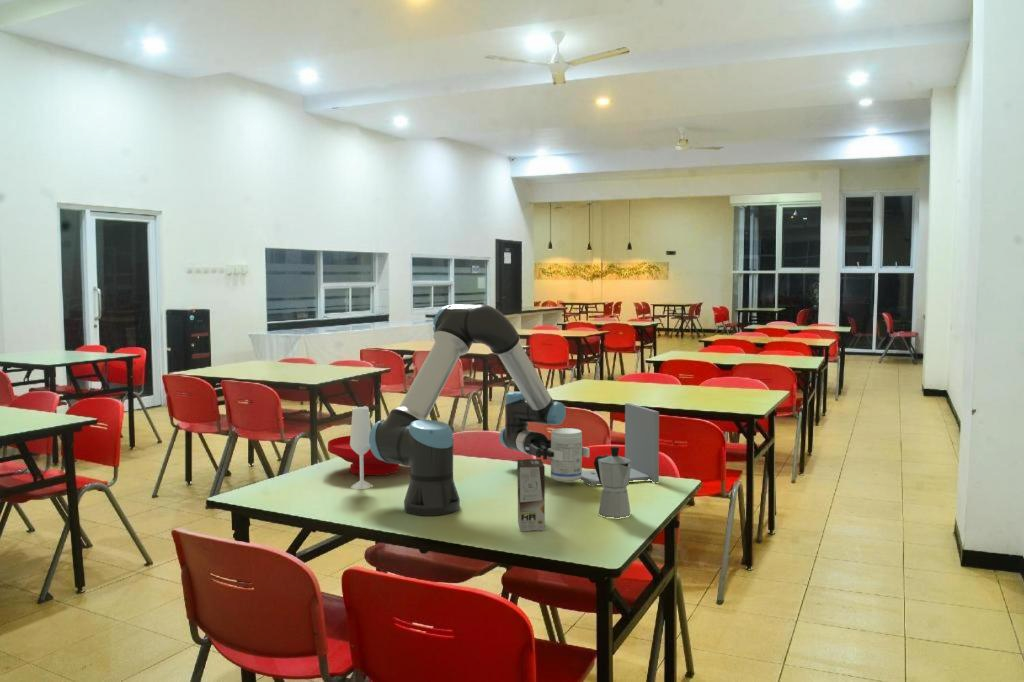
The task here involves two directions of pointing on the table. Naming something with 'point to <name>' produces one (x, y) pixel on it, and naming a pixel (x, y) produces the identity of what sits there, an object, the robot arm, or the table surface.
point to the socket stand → (637, 445)
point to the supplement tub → (567, 454)
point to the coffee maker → (613, 484)
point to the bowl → (370, 461)
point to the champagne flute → (360, 440)
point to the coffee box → (531, 494)
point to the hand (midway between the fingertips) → (575, 454)
